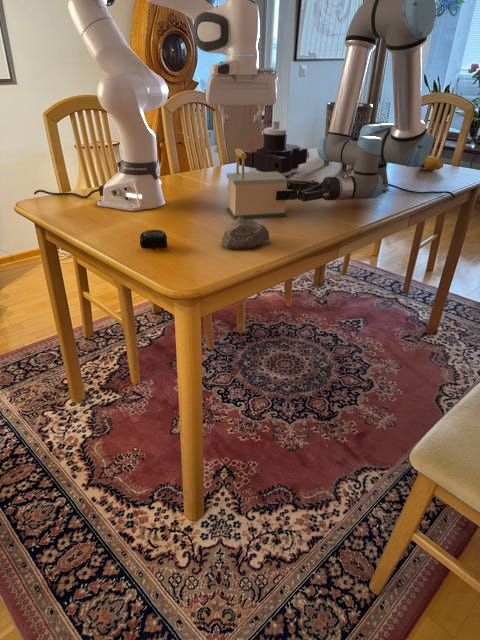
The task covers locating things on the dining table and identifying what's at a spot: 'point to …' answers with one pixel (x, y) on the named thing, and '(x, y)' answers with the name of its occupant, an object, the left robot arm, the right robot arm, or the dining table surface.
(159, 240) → the tape measure
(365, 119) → the planter
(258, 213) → the chest
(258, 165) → the mechanical component
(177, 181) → the dining table surface
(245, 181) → the lid
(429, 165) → the toy
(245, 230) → the rock
